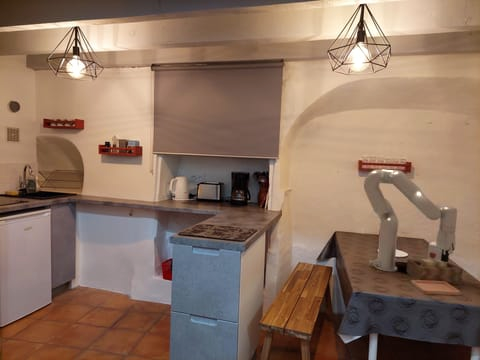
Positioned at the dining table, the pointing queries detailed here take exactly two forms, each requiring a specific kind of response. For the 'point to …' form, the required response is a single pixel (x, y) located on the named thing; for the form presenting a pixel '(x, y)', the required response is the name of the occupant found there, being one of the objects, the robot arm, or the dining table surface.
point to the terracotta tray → (435, 287)
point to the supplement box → (434, 251)
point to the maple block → (433, 263)
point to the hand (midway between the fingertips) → (444, 261)
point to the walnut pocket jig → (434, 272)
